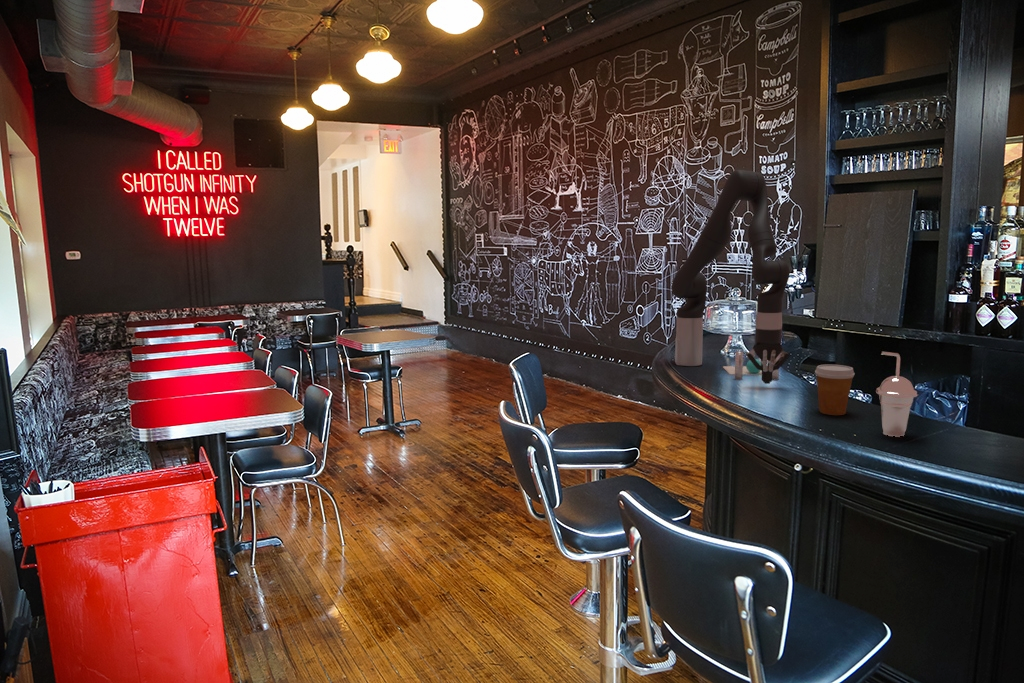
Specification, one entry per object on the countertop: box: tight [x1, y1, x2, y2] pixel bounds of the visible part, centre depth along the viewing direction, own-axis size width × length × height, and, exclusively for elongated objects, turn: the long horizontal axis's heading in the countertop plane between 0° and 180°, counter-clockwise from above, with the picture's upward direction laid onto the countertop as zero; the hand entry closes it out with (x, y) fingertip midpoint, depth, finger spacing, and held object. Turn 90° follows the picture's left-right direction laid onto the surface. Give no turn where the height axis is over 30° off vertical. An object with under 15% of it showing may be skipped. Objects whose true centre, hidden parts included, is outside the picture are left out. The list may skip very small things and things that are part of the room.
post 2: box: [772, 353, 781, 381], centre depth 226 cm, size 2×2×9 cm
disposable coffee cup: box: [814, 364, 856, 416], centre depth 184 cm, size 10×10×12 cm
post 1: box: [734, 350, 744, 381], centre depth 228 cm, size 2×2×9 cm
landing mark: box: [722, 365, 762, 376], centre depth 241 cm, size 14×14×1 cm
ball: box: [745, 358, 761, 374], centre depth 236 cm, size 5×5×5 cm
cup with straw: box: [875, 350, 918, 438], centre depth 163 cm, size 8×9×20 cm
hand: (766, 383), depth 215 cm, fingers closed
